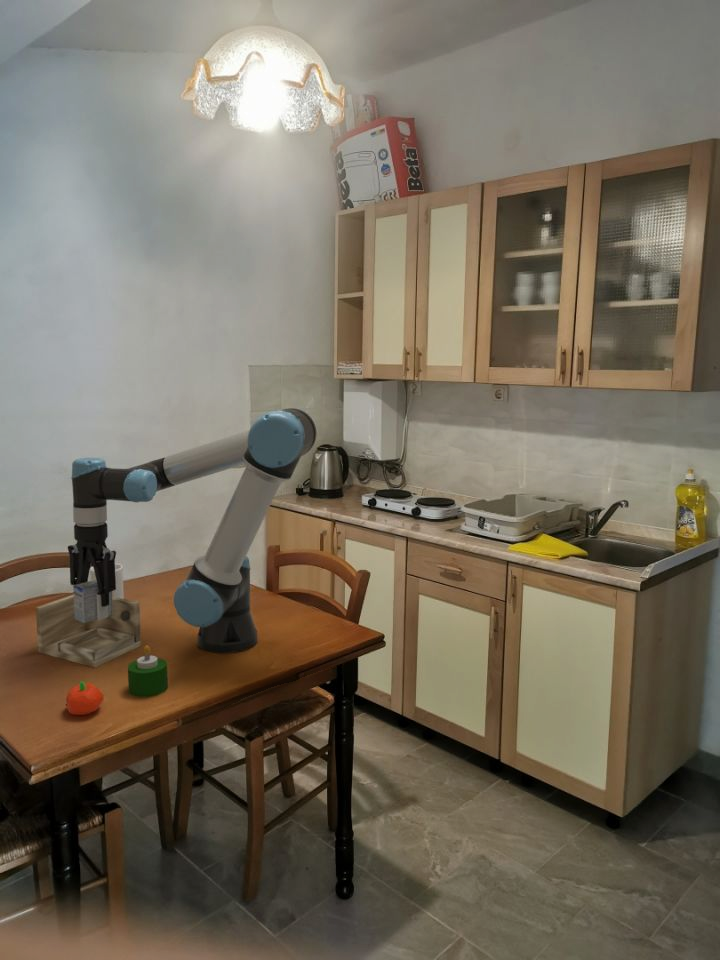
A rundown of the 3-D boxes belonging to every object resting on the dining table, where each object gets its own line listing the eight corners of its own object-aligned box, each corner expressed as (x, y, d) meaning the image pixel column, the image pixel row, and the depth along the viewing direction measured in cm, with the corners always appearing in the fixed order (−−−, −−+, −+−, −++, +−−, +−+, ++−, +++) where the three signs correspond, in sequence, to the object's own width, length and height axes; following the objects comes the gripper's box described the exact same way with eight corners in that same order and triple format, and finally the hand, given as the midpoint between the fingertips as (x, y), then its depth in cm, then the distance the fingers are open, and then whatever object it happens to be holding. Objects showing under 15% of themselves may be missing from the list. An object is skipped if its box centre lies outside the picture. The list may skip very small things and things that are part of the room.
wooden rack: (141, 646, 186) (139, 602, 184) (95, 667, 173) (93, 620, 171) (86, 632, 195) (83, 590, 193) (38, 652, 181) (35, 607, 180)
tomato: (74, 725, 147) (68, 696, 145) (63, 710, 153) (58, 682, 152) (110, 711, 151) (104, 683, 149) (98, 697, 157) (93, 669, 156)
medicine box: (103, 611, 184) (102, 577, 183) (113, 615, 182) (112, 581, 180) (74, 619, 178) (72, 584, 177) (84, 623, 176) (82, 588, 174)
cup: (114, 630, 196) (112, 572, 194) (86, 628, 198) (83, 570, 195) (130, 620, 204) (128, 564, 202) (103, 617, 206) (100, 562, 203)
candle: (175, 688, 163) (174, 645, 161) (142, 700, 157) (140, 656, 155) (154, 677, 168) (152, 635, 167) (121, 689, 162) (119, 645, 161)
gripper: (130, 524, 175) (133, 618, 179) (75, 515, 183) (79, 605, 187) (107, 530, 169) (110, 627, 173) (50, 521, 177) (54, 614, 181)
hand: (94, 616), depth 180 cm, fingers closed on medicine box, 5 cm apart
